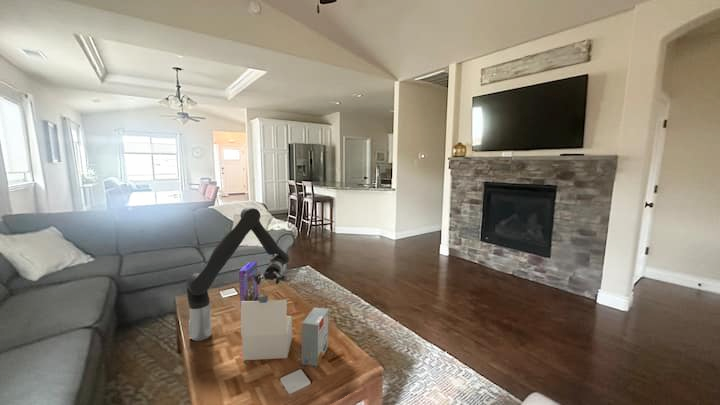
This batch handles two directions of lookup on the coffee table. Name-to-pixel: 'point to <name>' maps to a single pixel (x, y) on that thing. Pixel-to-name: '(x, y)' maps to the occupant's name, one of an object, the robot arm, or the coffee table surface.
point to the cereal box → (248, 282)
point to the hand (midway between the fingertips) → (267, 282)
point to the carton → (267, 345)
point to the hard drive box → (314, 336)
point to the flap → (263, 317)
